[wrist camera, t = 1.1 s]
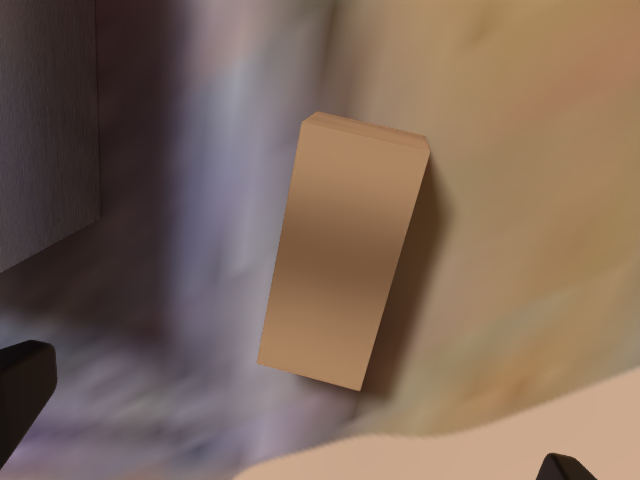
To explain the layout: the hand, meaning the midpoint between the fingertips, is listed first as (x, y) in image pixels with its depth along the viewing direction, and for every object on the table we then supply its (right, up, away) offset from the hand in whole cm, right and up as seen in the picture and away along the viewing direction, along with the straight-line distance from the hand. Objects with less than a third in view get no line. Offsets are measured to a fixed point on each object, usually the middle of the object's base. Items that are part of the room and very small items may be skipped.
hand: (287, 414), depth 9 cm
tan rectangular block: (+1, +3, +8) cm, 9 cm away
